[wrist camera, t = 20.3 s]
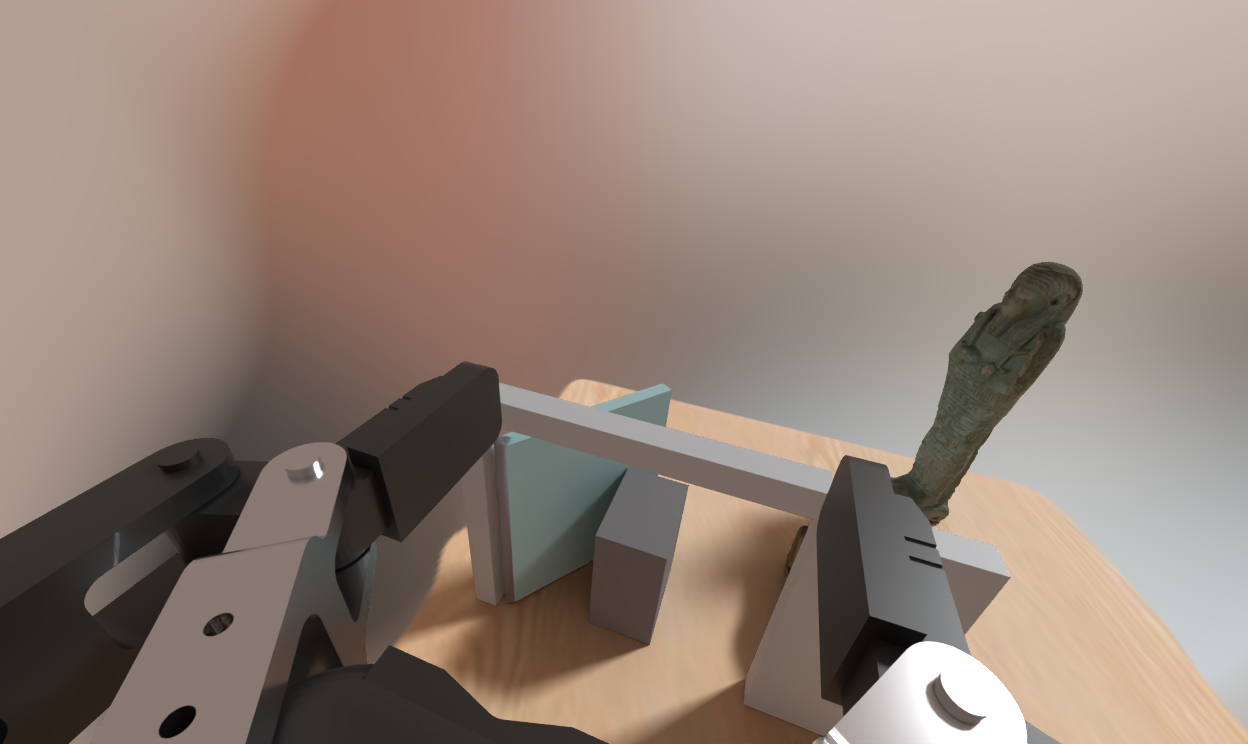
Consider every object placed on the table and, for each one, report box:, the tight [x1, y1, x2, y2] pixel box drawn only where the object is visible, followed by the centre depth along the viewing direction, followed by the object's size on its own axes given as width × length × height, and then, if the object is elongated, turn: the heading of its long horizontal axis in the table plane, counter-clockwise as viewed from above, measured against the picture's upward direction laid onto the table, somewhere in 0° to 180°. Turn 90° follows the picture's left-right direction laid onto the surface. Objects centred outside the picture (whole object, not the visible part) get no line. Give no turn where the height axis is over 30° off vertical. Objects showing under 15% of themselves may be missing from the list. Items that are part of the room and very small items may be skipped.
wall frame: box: [461, 383, 1011, 736], centre depth 32 cm, size 32×2×22 cm, turn 71°
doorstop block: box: [589, 468, 689, 645], centre depth 39 cm, size 6×8×11 cm
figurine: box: [890, 262, 1083, 522], centre depth 48 cm, size 9×7×30 cm
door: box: [494, 384, 672, 603], centre depth 40 cm, size 16×2×18 cm, turn 126°
